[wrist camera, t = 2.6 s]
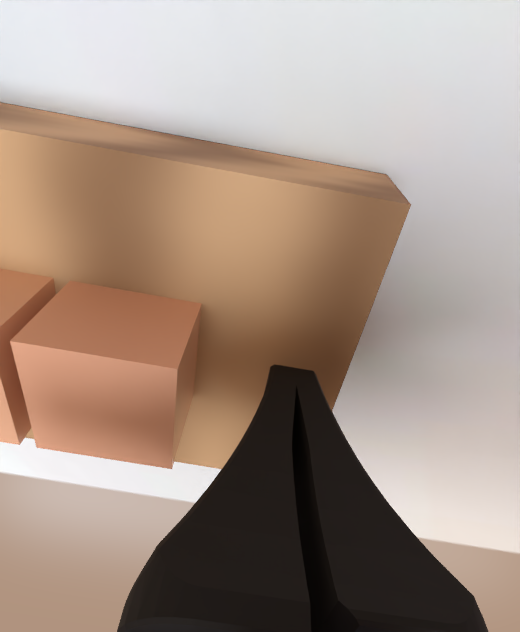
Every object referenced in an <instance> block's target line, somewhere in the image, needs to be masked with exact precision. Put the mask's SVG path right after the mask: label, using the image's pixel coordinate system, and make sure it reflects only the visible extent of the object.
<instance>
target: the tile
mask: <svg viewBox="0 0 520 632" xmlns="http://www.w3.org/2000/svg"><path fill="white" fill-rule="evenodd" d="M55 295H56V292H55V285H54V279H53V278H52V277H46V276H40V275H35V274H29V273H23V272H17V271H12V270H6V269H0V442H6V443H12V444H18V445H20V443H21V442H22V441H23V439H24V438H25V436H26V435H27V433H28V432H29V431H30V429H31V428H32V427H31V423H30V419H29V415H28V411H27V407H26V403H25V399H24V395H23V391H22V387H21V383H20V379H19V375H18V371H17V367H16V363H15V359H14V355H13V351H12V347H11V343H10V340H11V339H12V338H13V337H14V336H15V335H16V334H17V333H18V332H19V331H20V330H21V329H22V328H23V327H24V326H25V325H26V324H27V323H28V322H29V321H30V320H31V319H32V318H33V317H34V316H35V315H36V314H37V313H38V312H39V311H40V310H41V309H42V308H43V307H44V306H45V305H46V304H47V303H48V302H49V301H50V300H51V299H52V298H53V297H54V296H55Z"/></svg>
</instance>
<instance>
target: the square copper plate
mask: <svg viewBox="0 0 520 632" xmlns="http://www.w3.org/2000/svg"><path fill="white" fill-rule="evenodd" d="M410 206H411V204H410V203H409V202H408V200H407V199H406V198H405V197H404V195H403V194H402V193H401V192H400V190H399V189H398V188H397V187H396V185H395V184H394V183H393V182H392V180H391V179H390V178H389V177H388V175H386V174H380V173H375V172H370V171H364V170H359V169H354V168H348V167H343V166H338V165H332V164H327V163H322V162H316V161H311V160H305V159H300V158H295V157H289V156H284V155H279V154H273V153H268V152H263V151H257V150H252V149H247V148H241V147H236V146H231V145H225V144H220V143H214V142H209V141H204V140H198V139H193V138H188V137H182V136H177V135H172V134H166V133H161V132H156V131H150V130H145V129H140V128H134V127H129V126H123V125H118V124H113V123H107V122H102V121H97V120H91V119H86V118H81V117H75V116H70V115H65V114H59V113H54V112H48V111H43V110H38V109H32V108H27V107H22V106H16V105H11V104H6V103H0V269H6V270H12V271H17V272H23V273H29V274H35V275H40V276H46V277H52V278H53V279H54V285H55V292H56V294H57V293H58V292H59V291H60V290H61V289H62V288H63V287H64V286H65V285H66V284H67V283H68V282H69V281H75V282H81V283H87V284H92V285H98V286H104V287H110V288H115V289H121V290H127V291H133V292H138V293H144V294H150V295H156V296H161V297H167V298H173V299H179V300H185V301H190V302H196V303H202V306H201V317H200V328H199V338H198V349H197V360H196V371H195V382H194V393H193V399H192V402H191V405H190V409H189V412H188V416H187V419H186V422H185V426H184V429H183V433H182V436H181V440H180V443H179V446H178V450H177V453H176V457H175V460H174V461H175V462H181V463H188V464H194V465H200V466H206V467H213V468H219V469H222V468H223V467H224V465H225V464H226V463H227V461H228V460H229V458H230V457H231V455H232V454H233V452H234V450H235V449H236V447H237V446H238V444H239V442H240V441H241V439H242V437H243V436H244V434H245V432H246V430H247V428H248V427H249V425H250V423H251V421H252V419H253V417H254V415H255V413H256V411H257V409H258V407H259V404H260V402H261V400H262V397H263V395H264V391H265V387H266V383H267V379H268V374H269V370H270V366H272V365H274V364H276V365H282V366H288V367H294V368H300V369H306V370H312V371H314V372H315V373H316V375H317V378H318V381H319V383H320V386H321V388H322V391H323V393H324V395H325V398H326V400H327V402H328V404H329V406H330V409H331V411H332V409H333V407H334V404H335V402H336V399H337V396H338V394H339V391H340V389H341V386H342V383H343V381H344V378H345V376H346V373H347V370H348V368H349V365H350V363H351V360H352V357H353V355H354V352H355V350H356V347H357V344H358V342H359V339H360V336H361V334H362V331H363V329H364V326H365V323H366V321H367V318H368V316H369V313H370V310H371V308H372V305H373V303H374V300H375V297H376V295H377V292H378V290H379V287H380V284H381V282H382V279H383V277H384V274H385V271H386V269H387V266H388V263H389V261H390V258H391V256H392V253H393V250H394V248H395V245H396V243H397V240H398V237H399V235H400V232H401V230H402V227H403V224H404V222H405V219H406V217H407V214H408V211H409V209H410ZM25 437H26V438H32V439H34V435H33V431H32V428H31V429H30V431H29V432H28V433H27V435H26V436H25Z"/></svg>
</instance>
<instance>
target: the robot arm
mask: <svg viewBox="0 0 520 632" xmlns="http://www.w3.org/2000/svg"><path fill="white" fill-rule="evenodd" d="M117 632H488V630H487V627H486V624H485V621H484V619H483V617H482V614H481V612H480V610H479V608H478V605H477V603H476V600H475V598H474V596H473V595H472V594H471V593H470V592H469V591H468V590H467V589H466V588H465V587H464V586H463V585H462V584H461V583H460V582H459V581H458V580H457V579H456V578H455V577H454V576H453V575H452V574H451V573H450V572H449V571H448V570H447V569H446V568H445V567H444V566H443V565H442V564H441V563H440V562H439V561H438V560H437V559H436V558H435V557H434V556H433V555H432V554H431V553H430V552H429V551H428V549H426V547H425V546H424V545H423V544H422V543H421V542H420V541H419V539H418V538H417V537H416V536H415V535H414V534H413V533H412V531H411V530H410V529H409V528H408V527H407V525H406V524H405V523H404V522H403V520H402V519H401V518H400V517H399V516H398V514H397V513H396V512H395V511H394V509H393V508H392V507H391V506H390V505H389V503H388V502H387V501H386V499H385V498H384V497H383V495H382V494H381V492H380V491H379V490H378V488H377V487H376V486H375V484H374V483H373V481H372V480H371V478H370V477H369V475H368V474H367V472H366V471H365V469H364V468H363V466H362V465H361V463H360V462H359V460H358V458H357V457H356V455H355V453H354V452H353V450H352V448H351V447H350V445H349V443H348V441H347V440H346V438H345V436H344V434H343V432H342V430H341V429H340V427H339V425H338V423H337V421H336V419H335V417H334V415H333V413H332V411H331V409H330V406H329V404H328V402H327V400H326V398H325V395H324V393H323V391H322V388H321V386H320V383H319V381H318V378H317V375H316V373H315V372H314V371H312V370H306V369H300V368H294V367H288V366H282V365H276V364H274V365H272V366H270V370H269V374H268V379H267V383H266V387H265V391H264V395H263V397H262V400H261V402H260V404H259V407H258V409H257V411H256V413H255V415H254V417H253V419H252V421H251V423H250V425H249V427H248V428H247V430H246V432H245V434H244V436H243V437H242V439H241V441H240V442H239V444H238V446H237V447H236V449H235V450H234V452H233V454H232V455H231V457H230V458H229V460H228V461H227V463H226V464H225V465H224V467H223V468H222V470H221V471H220V472H219V474H218V475H217V477H216V478H215V479H214V481H213V482H212V483H211V485H210V486H209V487H208V489H207V490H206V491H205V492H204V493H203V495H202V496H201V497H200V498H199V499H198V501H197V502H196V503H195V504H194V505H193V507H192V508H191V509H190V511H189V512H188V513H187V514H186V515H185V516H184V517H183V518H182V519H181V521H180V522H179V523H178V524H177V525H176V526H175V527H174V528H173V529H172V530H171V531H170V532H169V533H168V535H167V536H166V537H165V538H164V539H163V540H162V541H161V542H160V543H159V544H158V545H157V547H156V549H155V550H154V552H153V554H152V555H151V557H150V558H149V560H148V562H147V563H146V565H145V566H144V568H143V570H142V571H141V573H140V575H139V577H138V578H137V580H136V582H135V583H134V585H133V587H132V589H131V591H130V593H129V596H128V598H127V600H126V603H125V606H124V609H123V613H122V616H121V620H120V623H119V626H118V630H117Z"/></svg>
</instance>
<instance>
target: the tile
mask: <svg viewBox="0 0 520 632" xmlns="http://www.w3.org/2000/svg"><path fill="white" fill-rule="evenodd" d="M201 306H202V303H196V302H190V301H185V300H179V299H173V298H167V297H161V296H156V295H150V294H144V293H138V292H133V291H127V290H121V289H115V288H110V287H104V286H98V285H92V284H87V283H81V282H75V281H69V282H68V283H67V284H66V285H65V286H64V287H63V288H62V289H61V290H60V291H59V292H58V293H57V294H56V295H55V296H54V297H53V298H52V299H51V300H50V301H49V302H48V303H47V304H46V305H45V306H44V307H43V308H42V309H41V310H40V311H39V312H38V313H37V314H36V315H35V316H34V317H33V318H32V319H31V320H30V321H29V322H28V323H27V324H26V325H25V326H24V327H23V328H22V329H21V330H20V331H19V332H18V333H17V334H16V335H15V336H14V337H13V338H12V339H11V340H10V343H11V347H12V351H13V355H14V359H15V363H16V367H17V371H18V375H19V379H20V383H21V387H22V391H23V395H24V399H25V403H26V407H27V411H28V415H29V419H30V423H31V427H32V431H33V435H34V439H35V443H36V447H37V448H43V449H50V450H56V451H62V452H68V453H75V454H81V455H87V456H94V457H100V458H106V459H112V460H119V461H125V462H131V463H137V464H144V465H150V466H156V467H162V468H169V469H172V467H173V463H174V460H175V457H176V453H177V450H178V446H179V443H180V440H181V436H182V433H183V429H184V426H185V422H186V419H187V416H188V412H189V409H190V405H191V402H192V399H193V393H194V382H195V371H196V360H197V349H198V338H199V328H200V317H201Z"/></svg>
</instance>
